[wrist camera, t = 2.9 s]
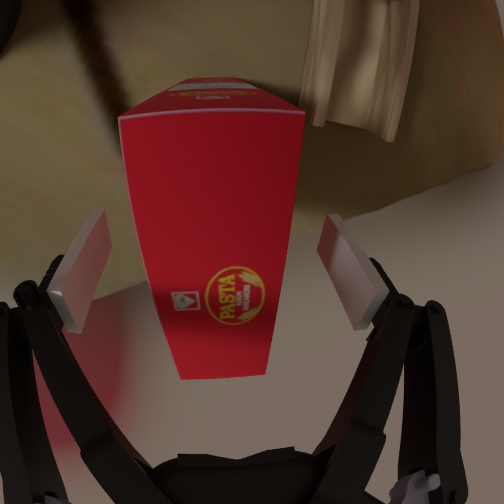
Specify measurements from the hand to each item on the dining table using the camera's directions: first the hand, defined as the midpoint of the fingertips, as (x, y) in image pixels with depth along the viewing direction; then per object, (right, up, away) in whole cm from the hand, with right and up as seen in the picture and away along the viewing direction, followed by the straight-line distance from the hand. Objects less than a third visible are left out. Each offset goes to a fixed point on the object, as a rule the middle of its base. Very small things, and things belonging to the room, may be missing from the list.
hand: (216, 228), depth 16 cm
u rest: (+14, +23, +9) cm, 28 cm away
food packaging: (-3, +12, +15) cm, 20 cm away
